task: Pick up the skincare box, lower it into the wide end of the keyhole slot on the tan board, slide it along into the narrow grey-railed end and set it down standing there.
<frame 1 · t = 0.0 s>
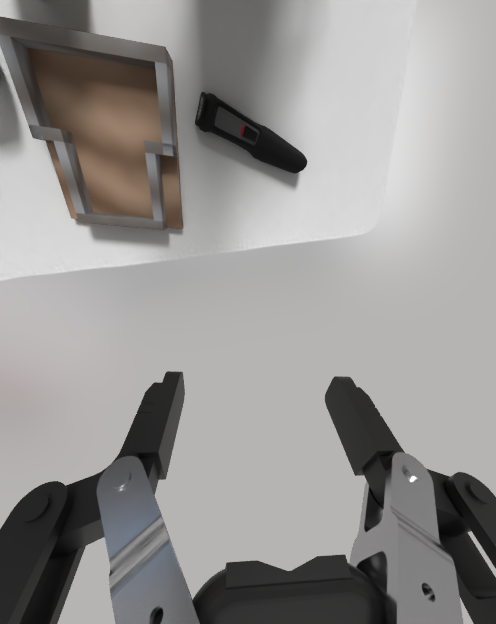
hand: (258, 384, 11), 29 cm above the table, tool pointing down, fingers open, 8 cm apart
electric trimmer: (251, 137, 28), on the table
keyhole board: (117, 150, 28), on the table
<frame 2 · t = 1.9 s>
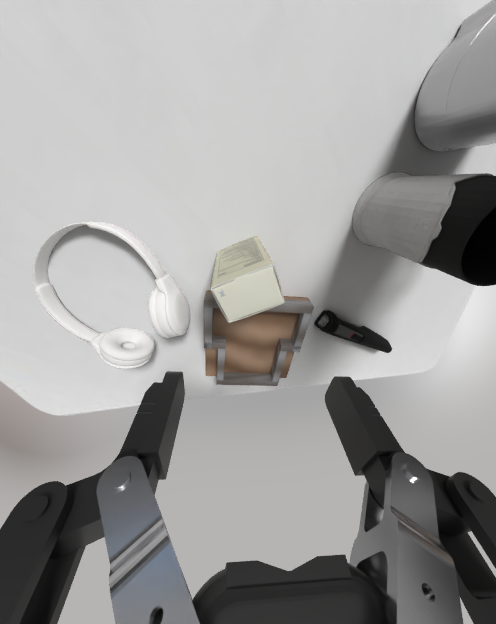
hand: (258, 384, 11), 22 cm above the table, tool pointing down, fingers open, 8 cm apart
headphones: (123, 291, 32), on the table
electric trimmer: (350, 327, 38), on the table
glass holder: (404, 211, 27), on the table
keyhole board: (251, 338, 37), on the table
skincare box: (243, 256, 29), on the table
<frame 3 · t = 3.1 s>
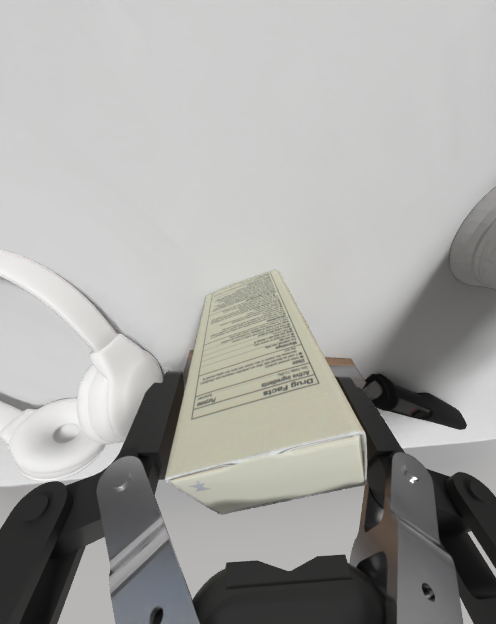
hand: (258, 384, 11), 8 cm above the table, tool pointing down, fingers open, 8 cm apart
headphones: (56, 350, 20), on the table
electric trimmer: (406, 392, 26), on the table
keyhole board: (260, 407, 25), on the table
skincare box: (251, 301, 17), on the table
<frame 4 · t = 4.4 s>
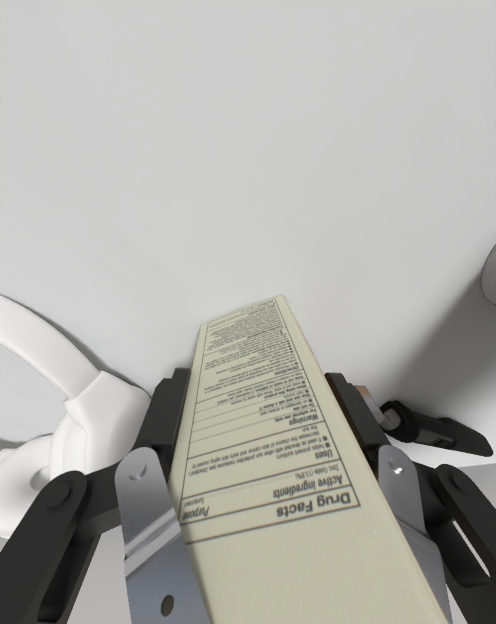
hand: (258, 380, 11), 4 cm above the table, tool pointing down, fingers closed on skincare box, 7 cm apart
headphones: (33, 384, 17), on the table
electric trimmer: (424, 416, 23), on the table
keyhole board: (263, 437, 23), on the table
skincare box: (252, 328, 15), on the table, touching gripper
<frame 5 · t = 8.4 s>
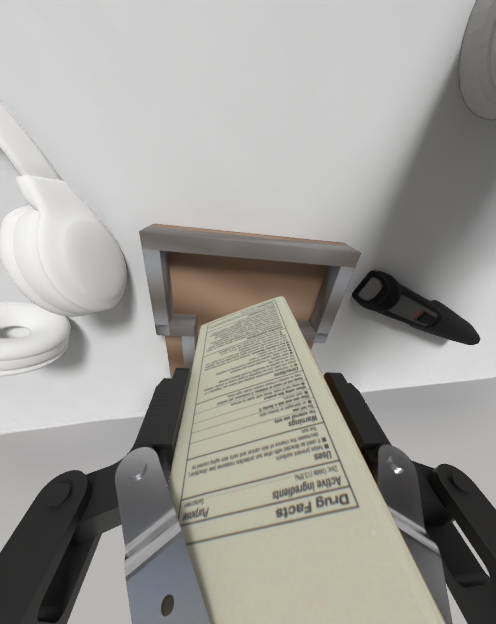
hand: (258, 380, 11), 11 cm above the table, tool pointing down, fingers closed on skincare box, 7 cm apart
electric trimmer: (409, 303, 23), on the table
keyhole board: (243, 321, 22), on the table
skincare box: (252, 329, 15), point 6 cm above the table, touching gripper
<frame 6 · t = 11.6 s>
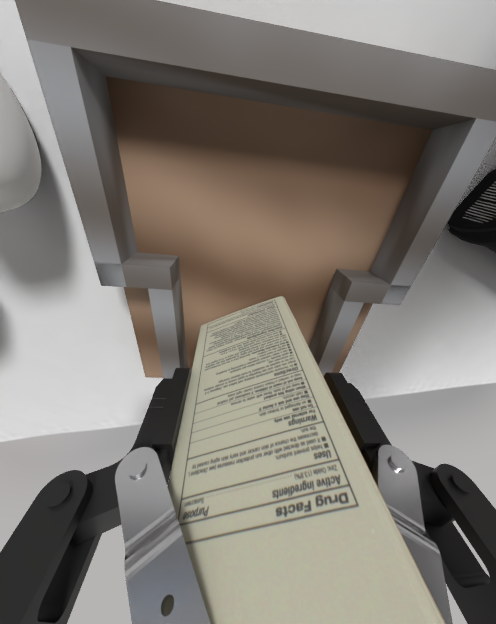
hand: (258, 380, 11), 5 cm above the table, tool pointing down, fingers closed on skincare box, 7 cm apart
keyhole board: (256, 275, 14), on the table
skincare box: (252, 329, 15), point 1 cm above the table, touching gripper
when the fingers open (6 cm above the table, at t = 12.5 s): skincare box stays where it is, resting on keyhole board.
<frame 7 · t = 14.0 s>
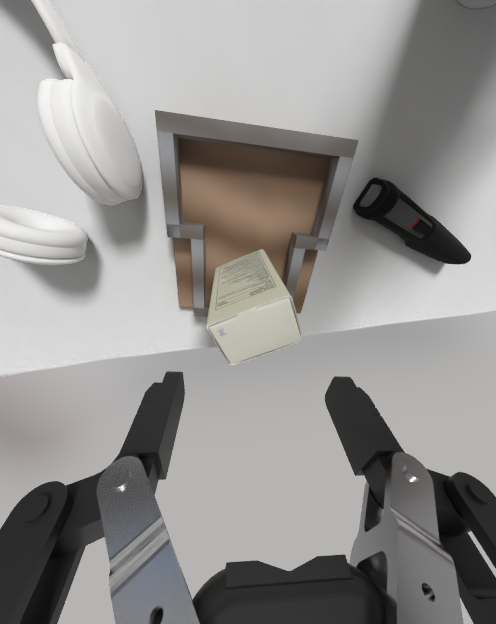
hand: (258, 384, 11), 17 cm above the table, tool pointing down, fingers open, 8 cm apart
headphones: (25, 131, 18), on the table
electric trimmer: (406, 223, 24), on the table
keyhole board: (248, 237, 24), on the table
skincare box: (246, 272, 25), point 1 cm above the table, touching keyhole board
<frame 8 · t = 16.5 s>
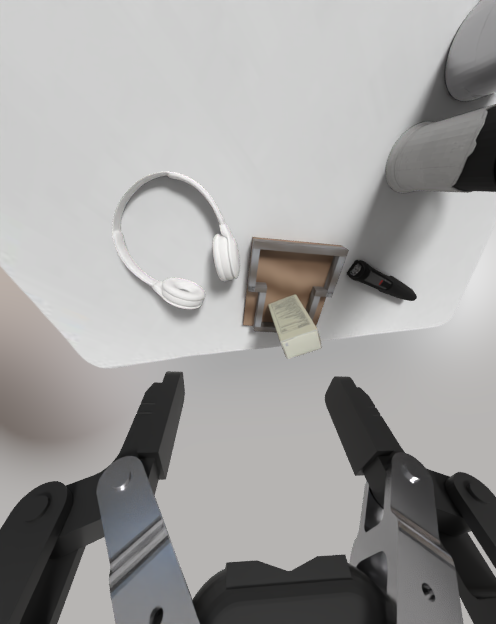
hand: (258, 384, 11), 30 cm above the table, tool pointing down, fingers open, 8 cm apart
headphones: (181, 242, 36), on the table
electric trimmer: (378, 278, 42), on the table
glass holder: (431, 159, 31), on the table
keyhole board: (287, 287, 41), on the table
skincare box: (284, 306, 43), point 1 cm above the table, touching keyhole board
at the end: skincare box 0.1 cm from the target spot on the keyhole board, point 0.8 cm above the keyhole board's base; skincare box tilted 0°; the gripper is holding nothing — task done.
